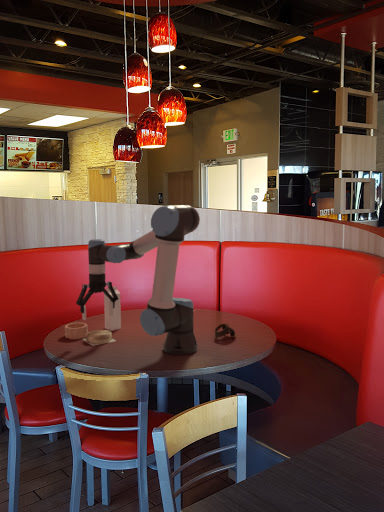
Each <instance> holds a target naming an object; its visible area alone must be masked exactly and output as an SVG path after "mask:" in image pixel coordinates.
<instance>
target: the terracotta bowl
mask: <svg viewBox="0 0 384 512" xmlns="http://www.w3.org/2000/svg"><path fill="white" fill-rule="evenodd" d="M88 332H89V330H88V324H87V323H85V322H71V323H68V324H66V325H65V326H64V337H65V338H66V339H67V338H69V340H81V339H86V338H87V336H86V334H87V333H88Z"/></svg>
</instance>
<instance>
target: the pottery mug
mask: <svg viewBox="0 0 384 512" xmlns="http://www.w3.org/2000/svg"><path fill="white" fill-rule="evenodd" d="M220 329H222V330H221V331H219V330H220ZM227 335H230V337H233V338H234V340H237V335H236V332H235V330H234V328H233V327H232V326H231V325H229V323H227V322H224V323H221V324H219V325H217V326H216V327H215V329H214V338H216V339H217V338H222V337H227Z"/></svg>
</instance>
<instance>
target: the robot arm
mask: <svg viewBox="0 0 384 512" xmlns="http://www.w3.org/2000/svg"><path fill="white" fill-rule="evenodd" d="M200 219H201V218H200V214H199V212H198V210H197V209H196V208H195V207H194V206H191V205H188V204H182V205H181V204H180V205H179V204H175V205H173V204H172V205H171V204H168V205H167V204H166V205H162V206H159V207H158V208H157V209H156V210H155V211H154V212H153V213H152V215H151V219H150V227H151V228H152V230H151V231H149V232H147V233H146V234H144V235H141V236H139V237H138V238H136V239H134V240H133V241H131V242H129V243H122V244H114V245H111V244H110V245H108V244H106V241H105V240H104V239H101V238H100V239H99V238H97V239H95V238H94V239H89V241H88V245H87V252H88V256H87V257H88V284H86V283H83V284H82V287H81V290H80V292H79V293H80V294H79V295H78V298H77V300H76V302H75V305H77V306H79V307H80V309H79V312H80V313H81V315H82V317H81V319H82V320H83V321H86V320H87V306H86V304H87V302H88V301H89V300H90V298H91V297H92V296H93V295H94V294H98V293H103V295H104V294H105V295H106V296H107V297H108V298H109V299H110V300H111V301H109V315H111V316H113V308H115V302H116V300H118V297H117V295H116V293H115V291H114V289H113V287H114V286H113V283H112V282H111V281H110V280H109V281H107V282H106V263H113V264H121V263H122V262H125V261H128V260H137V259H140V258H142V257H144V255H145V254H146V253H148V252H150V251H152V250H154V249H156V248H157V249H156V259H155V267H154V275H153V284H152V290H151V291H152V293H151V297H150V299H148V300H147V303H146V308H145V309H143V311H141V312H140V315H139V316H140V317H139V322H140V325H141V328H143V331H144V332H145V333H146V334H147V335H149V336H152V337H157V336H162V335H164V334H166V336H165V340H164V342H163V352H165V353H166V354H170V355H176V356H178V355H179V356H181V355H183V356H184V355H190V354H193V353H196V352H197V351H198V343H197V342H198V341H197V339H196V336H195V332H194V310H195V309H194V302H193V300H192V299H189V298H184V297H174V289H175V283H176V275H177V268H178V267H177V266H178V258H179V253H180V252H179V250H180V245H181V244H182V243H183V242H184V241H185V236H186V235H188V234H190V233H192V232H195V231H196V230H197V229H198V227H199V225H200ZM106 287H107V288H109V290H110V292H111V294H112V296H113V297H112V296H111V295H110V294H109V293H108V292H107V288H106ZM88 288H89V289H88ZM87 290H88V291H87Z"/></svg>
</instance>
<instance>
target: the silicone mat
mask: <svg viewBox="0 0 384 512" xmlns="http://www.w3.org/2000/svg"><path fill="white" fill-rule="evenodd" d="M81 339H82V341H84V342H86V343H87V344H88V345H90V346H92V347H94V346H99V345H100V344H91V343H88V342H87V337H85V338H81ZM113 342H117V340H115V339H114V338H112V340H111V341H110V342H107V343H106V344H108V343H113ZM103 344H104V345H105V343H103ZM103 344H102V345H103Z"/></svg>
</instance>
